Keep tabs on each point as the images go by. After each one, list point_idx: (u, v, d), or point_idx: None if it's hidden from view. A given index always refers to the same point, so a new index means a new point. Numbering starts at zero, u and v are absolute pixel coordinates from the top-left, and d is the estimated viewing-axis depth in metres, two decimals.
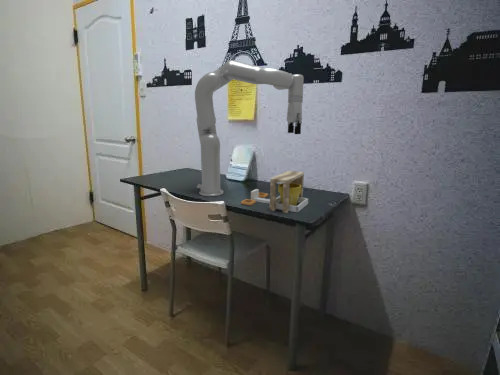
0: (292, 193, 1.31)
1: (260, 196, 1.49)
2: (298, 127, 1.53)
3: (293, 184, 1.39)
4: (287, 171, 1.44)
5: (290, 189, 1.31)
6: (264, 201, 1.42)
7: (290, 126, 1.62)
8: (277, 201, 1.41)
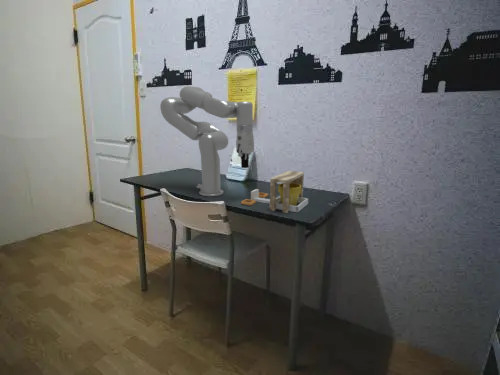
0: (292, 193, 1.31)
1: (260, 196, 1.49)
2: None
3: (293, 184, 1.39)
4: (287, 171, 1.44)
5: (290, 189, 1.31)
6: (264, 201, 1.42)
7: None
8: (277, 201, 1.41)
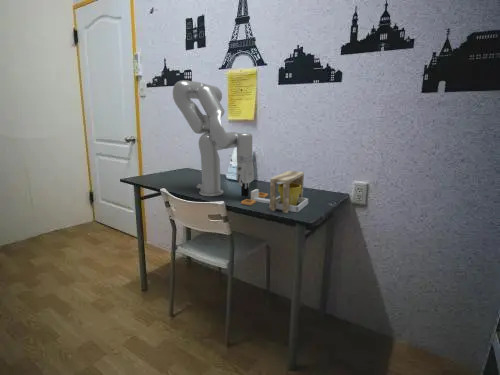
0: (292, 193, 1.31)
1: (260, 196, 1.49)
2: None
3: (293, 184, 1.39)
4: (287, 171, 1.44)
5: (290, 189, 1.31)
6: (264, 201, 1.42)
7: None
8: (277, 201, 1.41)
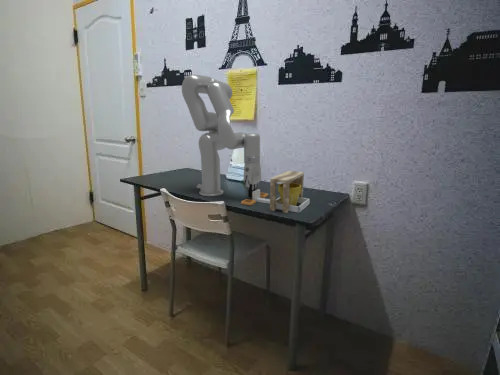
0: (292, 193, 1.31)
1: (260, 196, 1.49)
2: None
3: (293, 184, 1.39)
4: (287, 171, 1.44)
5: (290, 189, 1.31)
6: (266, 201, 1.41)
7: None
8: (279, 201, 1.40)
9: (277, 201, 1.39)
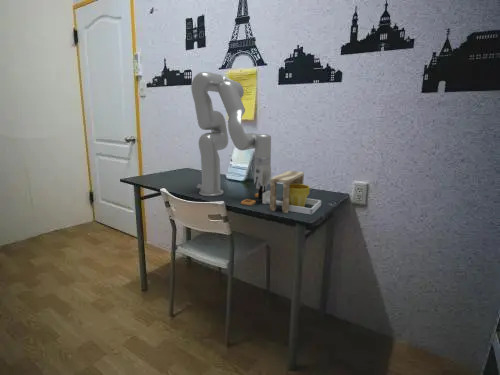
0: (300, 194, 1.29)
1: None
2: None
3: (302, 186, 1.37)
4: (287, 171, 1.44)
5: (298, 190, 1.29)
6: (276, 203, 1.39)
7: None
8: None
9: None
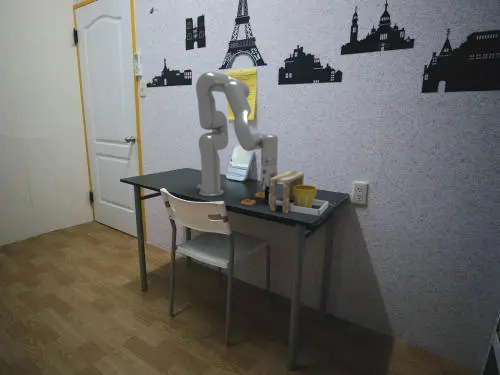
0: (306, 195, 1.27)
1: (260, 196, 1.49)
2: None
3: (309, 187, 1.35)
4: (287, 171, 1.44)
5: (304, 191, 1.27)
6: None
7: None
8: None
9: (295, 204, 1.35)
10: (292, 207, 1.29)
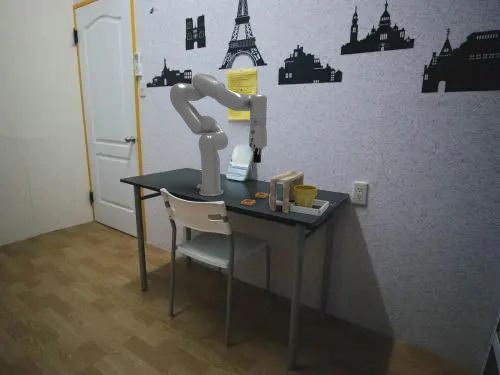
0: (307, 195, 1.27)
1: (260, 196, 1.49)
2: None
3: (310, 187, 1.35)
4: (287, 171, 1.44)
5: (305, 191, 1.27)
6: None
7: None
8: None
9: (295, 204, 1.35)
10: (292, 207, 1.29)
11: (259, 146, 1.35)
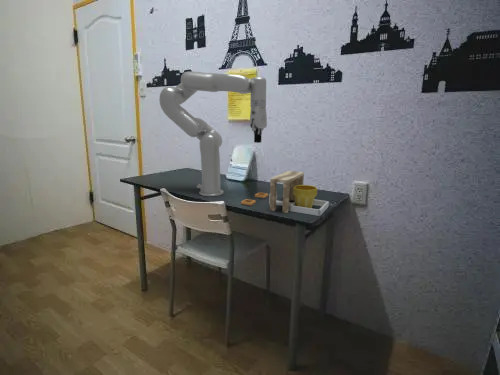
0: (307, 195, 1.27)
1: (260, 196, 1.49)
2: None
3: (310, 187, 1.35)
4: (287, 171, 1.44)
5: (305, 191, 1.27)
6: None
7: None
8: None
9: (295, 204, 1.35)
10: (292, 207, 1.29)
11: (259, 126, 1.44)
